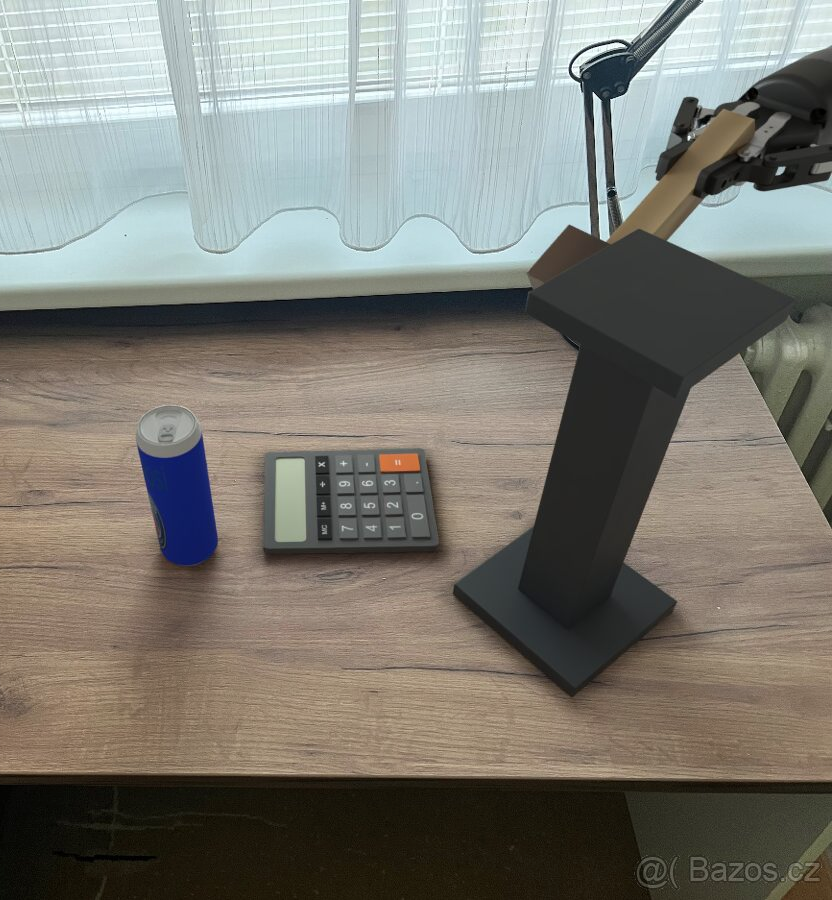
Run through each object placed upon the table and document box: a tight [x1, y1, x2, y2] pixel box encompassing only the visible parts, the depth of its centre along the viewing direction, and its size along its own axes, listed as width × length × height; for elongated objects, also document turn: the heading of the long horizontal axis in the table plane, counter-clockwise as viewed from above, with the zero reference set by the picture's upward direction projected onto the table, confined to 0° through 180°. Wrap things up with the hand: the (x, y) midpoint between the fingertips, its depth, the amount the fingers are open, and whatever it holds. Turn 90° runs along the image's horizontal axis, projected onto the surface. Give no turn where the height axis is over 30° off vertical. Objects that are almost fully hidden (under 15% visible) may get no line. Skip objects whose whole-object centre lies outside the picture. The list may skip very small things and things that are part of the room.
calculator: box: [262, 447, 440, 555], centre depth 79 cm, size 12×1×15 cm
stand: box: [452, 229, 796, 699], centre depth 60 cm, size 12×12×30 cm
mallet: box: [526, 109, 755, 290], centre depth 67 cm, size 8×19×4 cm
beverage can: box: [135, 404, 219, 567], centre depth 72 cm, size 5×5×15 cm
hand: (681, 178), depth 66 cm, fingers closed on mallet, 2 cm apart
